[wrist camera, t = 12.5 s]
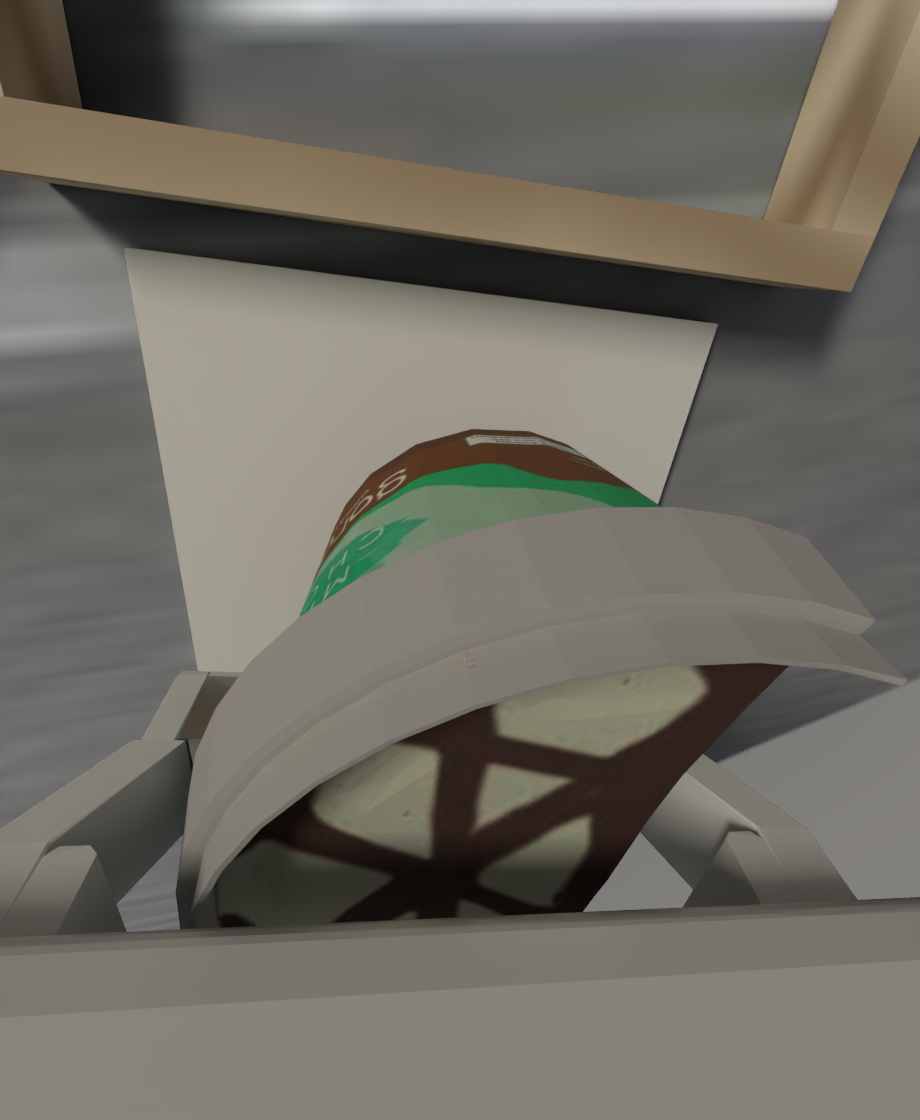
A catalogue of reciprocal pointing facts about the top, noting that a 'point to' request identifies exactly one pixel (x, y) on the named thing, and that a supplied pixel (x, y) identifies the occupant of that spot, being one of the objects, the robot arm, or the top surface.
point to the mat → (365, 409)
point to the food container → (493, 690)
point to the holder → (497, 202)
